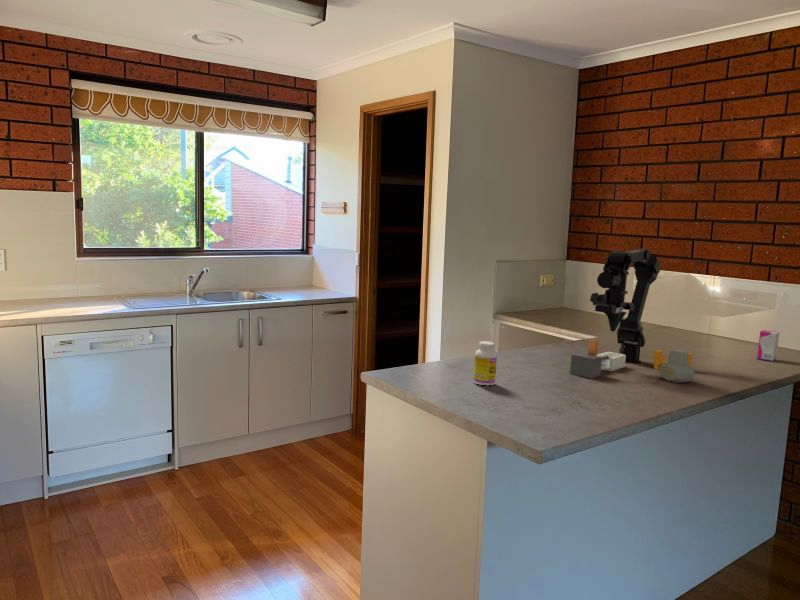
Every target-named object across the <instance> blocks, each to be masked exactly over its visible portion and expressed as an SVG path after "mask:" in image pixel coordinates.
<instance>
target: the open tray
mask: <svg viewBox="0 0 800 600" xmlns="http://www.w3.org/2000/svg"><path fill="white" fill-rule="evenodd" d="M604 355H607V356H608V357H609V358H610V364H609V365H606V366H603V367H601V370H605V371H610V372H613V371H617V370H619V369H622V368H625V366H626V362H625V359H626V355H624V354H619V352H618V353H617V352H612V351H606V352H602V353H599V354H598V353H597V356H604Z"/></svg>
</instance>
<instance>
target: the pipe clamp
mask: <svg viewBox="0 0 800 600" xmlns="http://www.w3.org/2000/svg"><path fill="white" fill-rule="evenodd" d="M688 353H689V355H688V365H689V366H691V367H692V359H693V358H692V357H693V354H692V353H691V352H688ZM653 355H654V356H653V366H654V367H653V368H654V369H655V370H659V368H660V366H661V365H662V364H664V363H666V362H668V360H666V359H665V358H664V356H663V351H662V350H661V349H654V354H653Z"/></svg>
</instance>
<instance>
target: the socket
mask: <svg viewBox="0 0 800 600" xmlns="http://www.w3.org/2000/svg"><path fill="white" fill-rule="evenodd" d="M601 360H602V357H600V356H595V355H590V354H588V353H584V352H577V353H573V354H571V358H570V368H569V369H570V370H569V374H570V375H573V376H579V377H583V378H587V379H591V380H593V379H596V378H598V377H599V378H600V377H601V371H602V369H601Z"/></svg>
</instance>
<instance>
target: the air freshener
mask: <svg viewBox="0 0 800 600" xmlns="http://www.w3.org/2000/svg"><path fill="white" fill-rule="evenodd" d="M689 353H690V352H688V351H686V350H683V349H670V350H669V352H668V360H667V361H668V362H666V363H664V364H662V365H661V366H660V368H659V369H658V373H659V374H660V376H661V377H662V378H664V379H665V380H666V381H668V382H670V381H672V382H671V383H677V382H680V383H679V384H681V383H687V382H690V381H692V380H693V379H694V378H695V377H696V376H695V375H696V372H695V370H694V368H693V367H692V365H691V366H689V365H688V355H689Z"/></svg>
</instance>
